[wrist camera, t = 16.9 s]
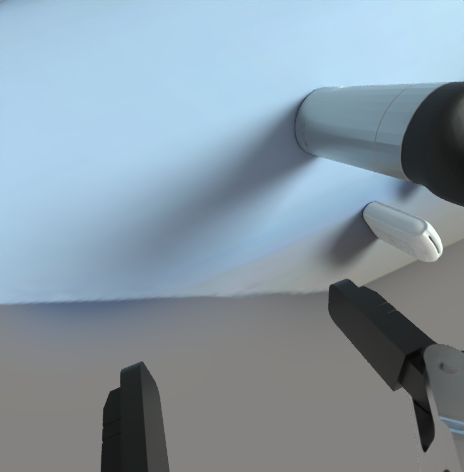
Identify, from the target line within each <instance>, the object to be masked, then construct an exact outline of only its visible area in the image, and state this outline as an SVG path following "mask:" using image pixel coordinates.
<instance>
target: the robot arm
mask: <svg viewBox="0 0 464 472" xmlns="http://www.w3.org/2000/svg"><path fill="white" fill-rule="evenodd" d="M295 133H296V138H297V141H298V143H299V145H300V146H301V148H302V149H303V150H304V151H306V152H307V153H310V154H313V155H316V156H320V157H323V158H327V159H330V160H334V161H337V162H341V163H345V164H348V165H352V166H355V167H359V168H363V169H366V170H370V171H374V172H377V173H381V174H384V175H388V176H392V177H396V178H399V179H403V180H407V181H410V182H414V183H417V184H420V185H423V186H425V187H426V188H428V189H429V190H430V191H431V192H432V193H433V194H435V195H436V196H438V197H440V198H442V199H444V200H446V201H449V202H451V203H454V204H457V205H460V206H463V207H464V82H443V83H421V84H398V85H372V86H344V87H323V88H320V89H317V90H315V91H313V92H312V93H311V94H310V95H309V96H307V97H306V99H305V100H304V101H303V103H302V105H301V107H300V108H299V111H298V114H297V117H296V123H295ZM328 309H329V314H330V316H331V318H332V320H333V321H334V323H335V324H336V325H337V326H338V327H339V328H340V329H341V331H342V332H343V333H344V334H345V335H346V337H347V338H348V339H349V340H350V341H351V342H352V344H353V345H354V346H355V347H356V348H357V349H358V351H359V352H360V353H361V354H362V355H363V356H364V358H365V359H366V360H367V361H368V362H369V363H370V364H371V366H372V367H373V368H374V369H375V370H376V372H377V373H378V374H379V375H380V376H381V377H382V379H383V380H384V381H385V382H386V383H387V384H388V386H389V387H390V388H391V389H392V390H393V391H396V390H397V389H399V388H401V387H403V388H404V389H405V390H406V391H407V392H408V400H409V405H410V411H411V416H412V421H413V426H414V432H415V438H416V443H417V449H418V457H419V462H418V472H464V351H460V350H458V349H456V348H454V347H451V346H448V345H444V344H437V343H436V342H434V341H433V340H432V339H430V338H429V337H428V336H427V335H426V334H425V333H423V332H422V331H421V330H420V329H419V328H418V327H416V326H415V325H414V324H413V323H412V322H411V321H410V320H408V319H407V318H406V317H405V316H404V315H403V314H401V313H400V312H399V311H397V310H396V309H395V308H394V307H393V306H392V305H391V304H390V303H387V301H386V300H385V299H384V298H383V297H382V296H380V295H379V294H378V293H377V292H375V291H373V290H371V289H369V288H367V287H365V286H362V287H357V286H356V285H355V284H354V283H353V282H352V281H351V280H349V279H344V280H342V281H339V282H337V283H334V284H332V285H330V287H329V303H328ZM120 386H121V387H119V388H117V389H115V390H112V391H110V393H109V395H108V398H107V401H106V403H105V406H104V409H103V431H102V441H103V444H102V455H101V472H169V464H168V456H167V449H166V441H165V433H164V425H163V418H162V410H161V402H160V396H159V391H158V387H157V385H156V382H155V380H154V379H153V378H152V376H151V374H150V372H149V371H148V369H147V367H146V366H145V364H144V363H143V362H139V363H137V364H134V365H131V366H129V367H127V368H124V369H122V370H121V373H120Z"/></svg>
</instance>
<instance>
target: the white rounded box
mask: <svg viewBox="0 0 464 472" xmlns="http://www.w3.org/2000/svg"><path fill="white" fill-rule="evenodd" d="M363 213H364V214H363V217H364V219H365V221H366V222H367V224H368V225H369V227H370V228H371V230H372V231H373V232H374V234H375V235H376V236H377V237H378V238H379V239H381V240H383V241H385V242H387V243H389V244H391V245H393V246H395V247H397V248H399V249H400V250H402V251H404V252H406V253H408V254H410V255H412V256H414V257H416V258H418V259H420V260H422V261H426V262H432V261H436V260H437V258H438V257H439V256H441V254H442V243H441V240H440V238H439V236H438V234H437V233H436V231H435V230H434V228H433V227H432V226H431V225H430V224H429V223H428V222H427V221H425V220H423V219H422V218H419V217H417V216H414V215H411V214H409V213H406V212H404V211H401V210H399V209H396V208H394V207H391V206H388V205H386V204H383V203H380V202H377V201H374V202H371V203H370V204H368V205H367V206H366V208H365V209H364V211H363Z"/></svg>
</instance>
